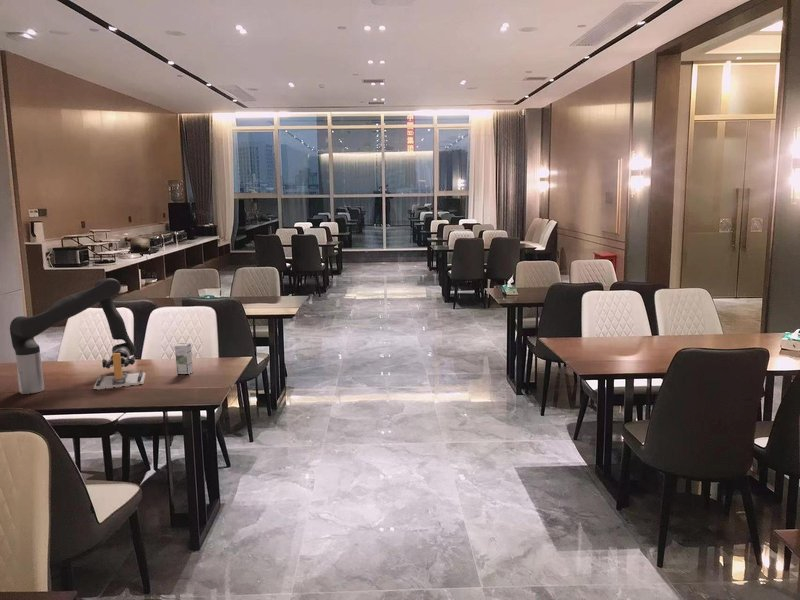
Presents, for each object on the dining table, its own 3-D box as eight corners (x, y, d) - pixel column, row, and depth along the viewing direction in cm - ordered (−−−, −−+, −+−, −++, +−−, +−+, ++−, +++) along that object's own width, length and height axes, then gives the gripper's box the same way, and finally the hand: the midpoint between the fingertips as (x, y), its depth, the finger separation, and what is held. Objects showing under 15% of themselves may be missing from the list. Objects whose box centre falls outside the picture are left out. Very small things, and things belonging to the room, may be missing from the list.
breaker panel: (93, 389, 278) (93, 384, 277) (99, 379, 295) (98, 374, 294) (142, 384, 284) (142, 378, 284) (145, 374, 301) (144, 369, 300)
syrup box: (193, 371, 303) (191, 342, 301) (188, 375, 297) (185, 345, 295) (182, 372, 304) (179, 342, 301) (176, 375, 298) (174, 345, 296)
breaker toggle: (112, 381, 281) (109, 354, 280) (113, 379, 284) (110, 353, 283) (124, 379, 283) (122, 353, 281) (125, 378, 286) (122, 352, 284)
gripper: (102, 351, 293) (98, 359, 278) (136, 348, 298) (133, 355, 282) (104, 367, 295) (99, 375, 279) (137, 363, 299) (135, 372, 283)
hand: (116, 365), depth 281 cm, fingers open, 6 cm apart
